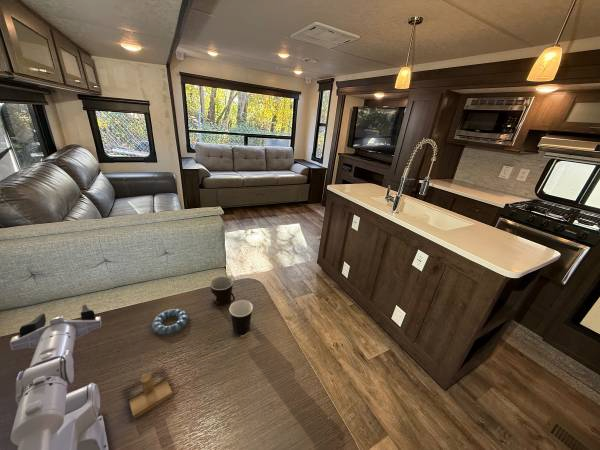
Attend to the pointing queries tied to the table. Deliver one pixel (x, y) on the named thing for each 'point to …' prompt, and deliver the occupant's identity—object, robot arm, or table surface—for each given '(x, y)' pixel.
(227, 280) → the coffee mug
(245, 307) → the dixie cup
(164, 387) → the hook stand
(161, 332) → the blue beaded bracelet
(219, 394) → the table surface
